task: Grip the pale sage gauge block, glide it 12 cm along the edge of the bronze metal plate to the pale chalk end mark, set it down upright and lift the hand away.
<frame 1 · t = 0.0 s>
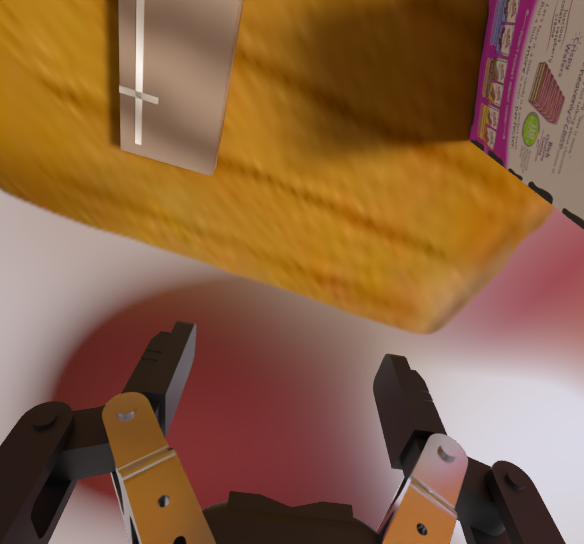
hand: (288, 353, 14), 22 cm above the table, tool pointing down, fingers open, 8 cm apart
candy bar box: (509, 63, 27), on the table
bronze metal plate: (185, 15, 25), on the table
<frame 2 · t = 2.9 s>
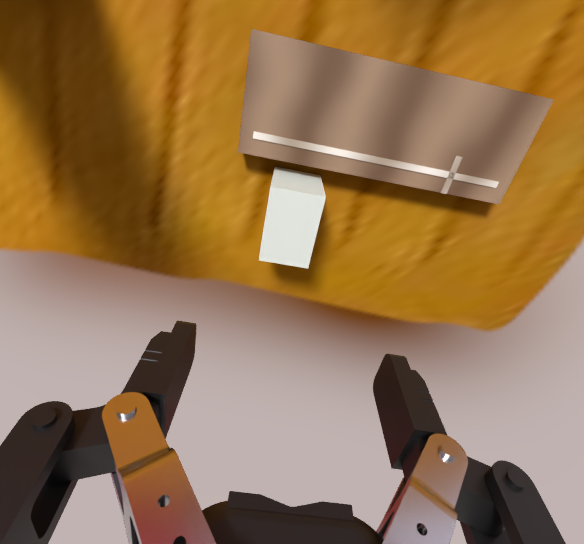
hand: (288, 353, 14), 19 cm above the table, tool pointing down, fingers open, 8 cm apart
gauge block: (291, 203, 31), on the table
bronze metal plate: (383, 123, 27), on the table
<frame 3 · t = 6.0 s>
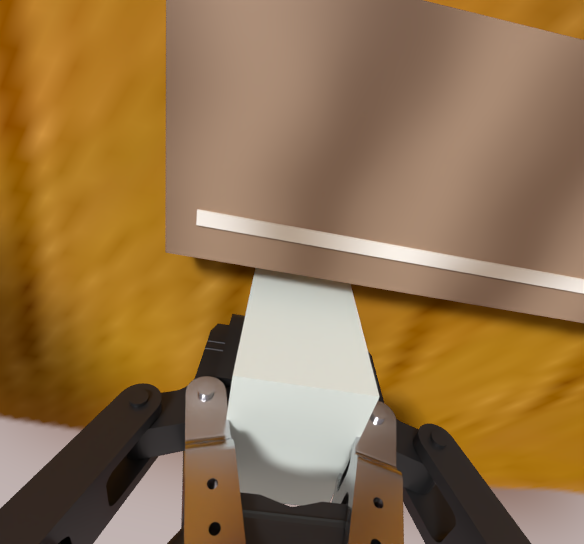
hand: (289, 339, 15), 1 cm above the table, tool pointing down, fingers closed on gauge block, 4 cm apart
gauge block: (290, 327, 16), on the table, touching gripper
bronze metal plate: (494, 182, 12), on the table
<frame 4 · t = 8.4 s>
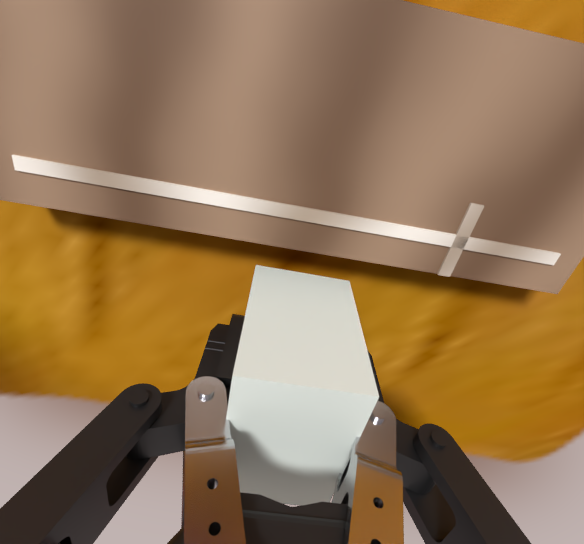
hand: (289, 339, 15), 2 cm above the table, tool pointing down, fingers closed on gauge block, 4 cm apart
gauge block: (289, 327, 16), point 2 cm above the table, touching gripper
bronze metal plate: (315, 133, 13), on the table
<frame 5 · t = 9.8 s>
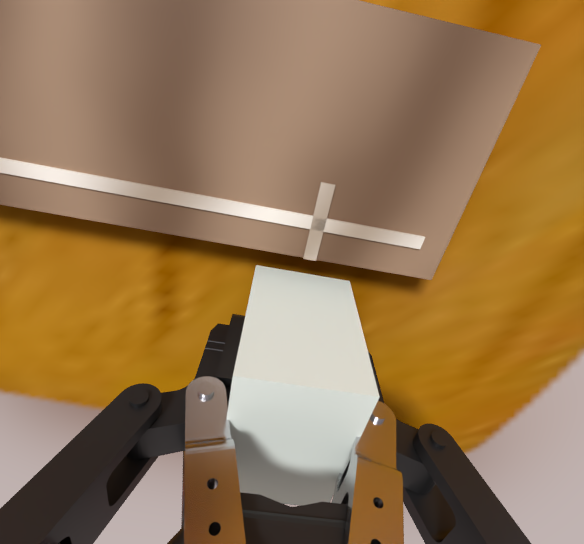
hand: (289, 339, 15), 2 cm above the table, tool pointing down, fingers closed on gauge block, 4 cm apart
gauge block: (290, 328, 16), point 1 cm above the table, touching gripper
bronze metal plate: (170, 110, 12), on the table
when the fingers open (1 cm above the table, at t = 10.9 s): gauge block stays where it is, on the table.
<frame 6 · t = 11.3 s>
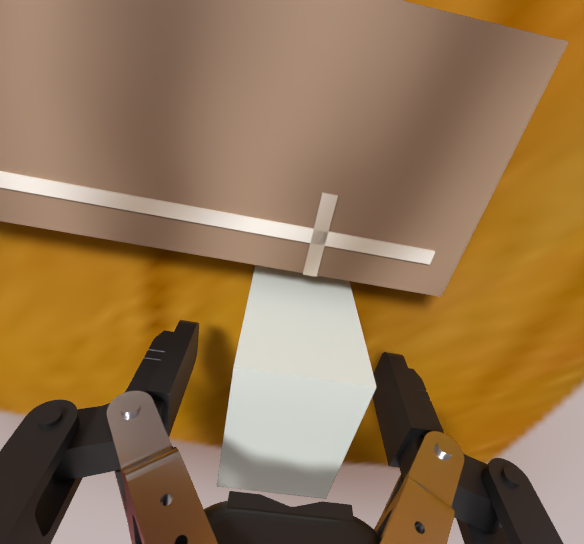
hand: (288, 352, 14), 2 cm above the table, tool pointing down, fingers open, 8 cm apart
gauge block: (289, 323, 16), on the table
bronze metal plate: (158, 113, 11), on the table
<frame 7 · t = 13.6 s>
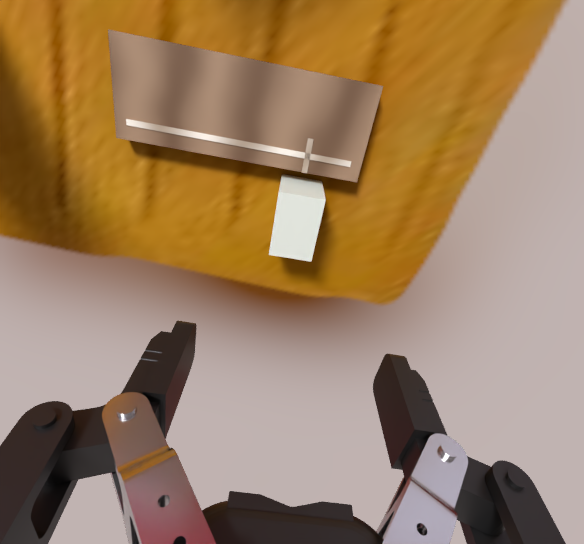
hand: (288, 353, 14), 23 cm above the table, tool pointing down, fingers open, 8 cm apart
gauge block: (296, 206, 35), on the table
bronze metal plate: (247, 111, 31), on the table
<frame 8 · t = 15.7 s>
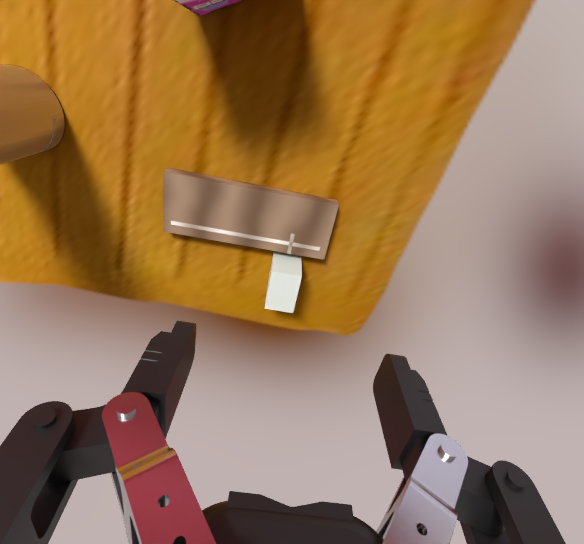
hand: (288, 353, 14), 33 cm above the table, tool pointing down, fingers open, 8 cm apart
gauge block: (284, 270, 51), on the table
bronze metal plate: (250, 213, 46), on the table
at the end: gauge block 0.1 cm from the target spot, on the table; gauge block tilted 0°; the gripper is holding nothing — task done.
